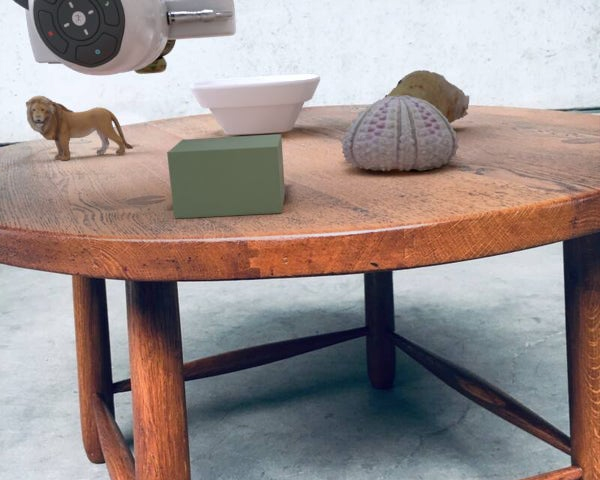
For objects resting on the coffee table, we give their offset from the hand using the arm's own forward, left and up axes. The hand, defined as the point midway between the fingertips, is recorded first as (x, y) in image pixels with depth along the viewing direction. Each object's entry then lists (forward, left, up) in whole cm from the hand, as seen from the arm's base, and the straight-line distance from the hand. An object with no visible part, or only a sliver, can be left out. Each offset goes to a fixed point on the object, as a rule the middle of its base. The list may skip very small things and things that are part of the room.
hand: (145, 23), depth 96 cm
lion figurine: (-17, +30, -17) cm, 39 cm away
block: (+9, -16, -17) cm, 25 cm away
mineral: (+31, +31, -17) cm, 47 cm away
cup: (0, -1, -5) cm, 5 cm away
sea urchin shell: (+27, +3, -17) cm, 32 cm away
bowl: (+8, +47, -17) cm, 51 cm away
